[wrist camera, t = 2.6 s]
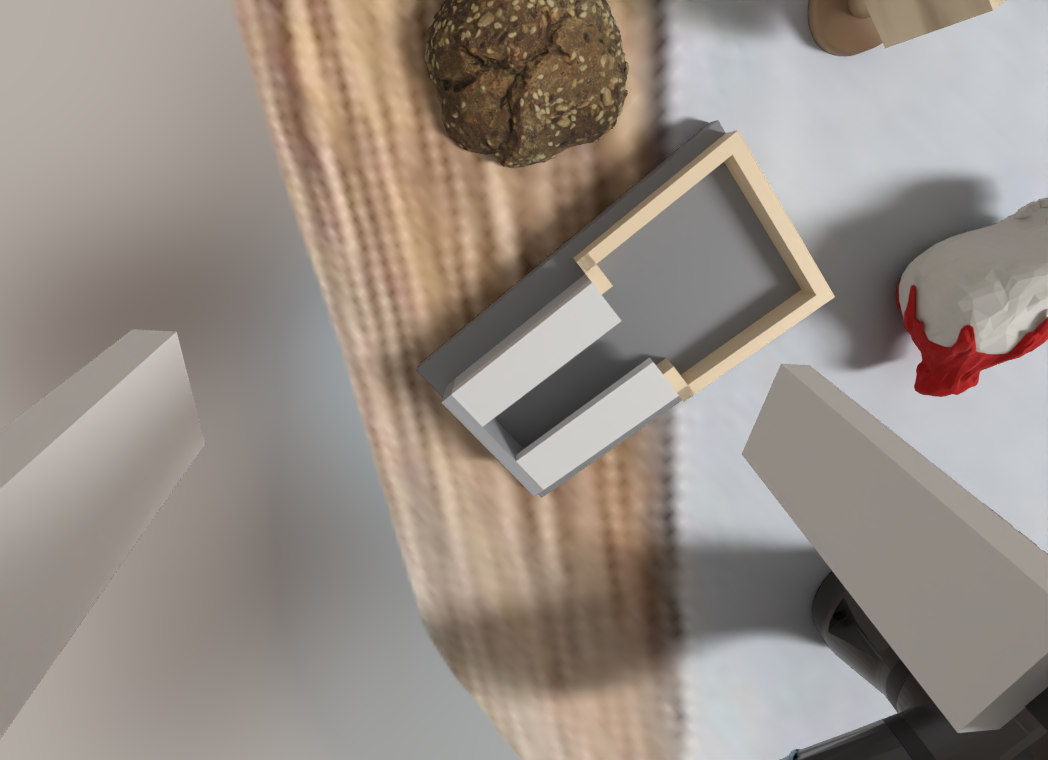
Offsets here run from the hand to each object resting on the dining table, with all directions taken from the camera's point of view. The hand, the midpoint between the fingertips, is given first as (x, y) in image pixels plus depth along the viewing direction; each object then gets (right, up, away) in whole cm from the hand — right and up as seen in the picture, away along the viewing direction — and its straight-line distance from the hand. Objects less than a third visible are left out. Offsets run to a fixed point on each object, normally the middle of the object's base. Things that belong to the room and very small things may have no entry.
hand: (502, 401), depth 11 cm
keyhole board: (+8, +5, +29) cm, 30 cm away
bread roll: (0, +22, +22) cm, 31 cm away
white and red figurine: (+34, +8, +28) cm, 45 cm away
